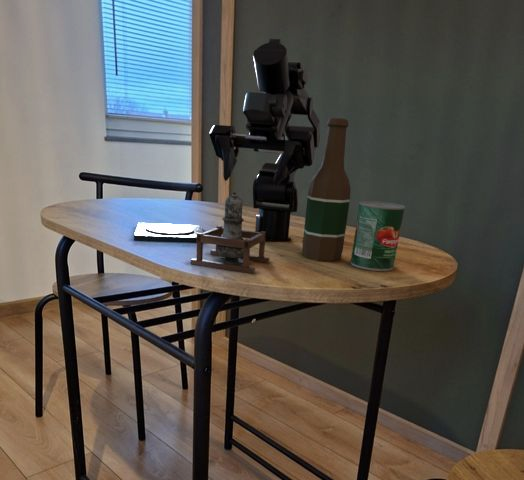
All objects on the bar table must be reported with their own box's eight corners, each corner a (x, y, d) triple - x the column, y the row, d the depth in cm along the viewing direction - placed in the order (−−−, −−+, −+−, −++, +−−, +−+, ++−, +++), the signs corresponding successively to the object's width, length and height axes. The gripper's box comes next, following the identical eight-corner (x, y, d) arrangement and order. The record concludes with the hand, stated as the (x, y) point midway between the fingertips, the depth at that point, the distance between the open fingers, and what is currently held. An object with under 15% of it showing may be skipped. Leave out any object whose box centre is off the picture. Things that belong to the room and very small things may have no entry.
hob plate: (201, 229, 107) (201, 224, 107) (205, 242, 95) (205, 236, 94) (138, 227, 105) (137, 221, 104) (133, 240, 92) (133, 233, 92)
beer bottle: (343, 255, 93) (362, 121, 84) (338, 263, 86) (359, 118, 77) (305, 250, 95) (319, 118, 85) (297, 258, 88) (312, 115, 78)
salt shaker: (209, 259, 83) (211, 187, 78) (240, 258, 85) (244, 188, 80) (221, 268, 78) (223, 192, 73) (253, 266, 80) (258, 192, 75)
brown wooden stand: (212, 253, 87) (213, 224, 85) (269, 261, 84) (271, 232, 82) (190, 264, 79) (190, 232, 77) (252, 273, 76) (254, 241, 74)
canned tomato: (354, 258, 92) (363, 199, 87) (395, 264, 89) (407, 204, 85) (346, 266, 85) (355, 203, 80) (390, 273, 82) (402, 209, 78)
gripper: (215, 74, 83) (186, 141, 77) (319, 78, 78) (296, 150, 73) (229, 125, 93) (205, 188, 88) (322, 132, 88) (302, 199, 83)
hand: (249, 181), depth 82 cm, fingers open, 9 cm apart
